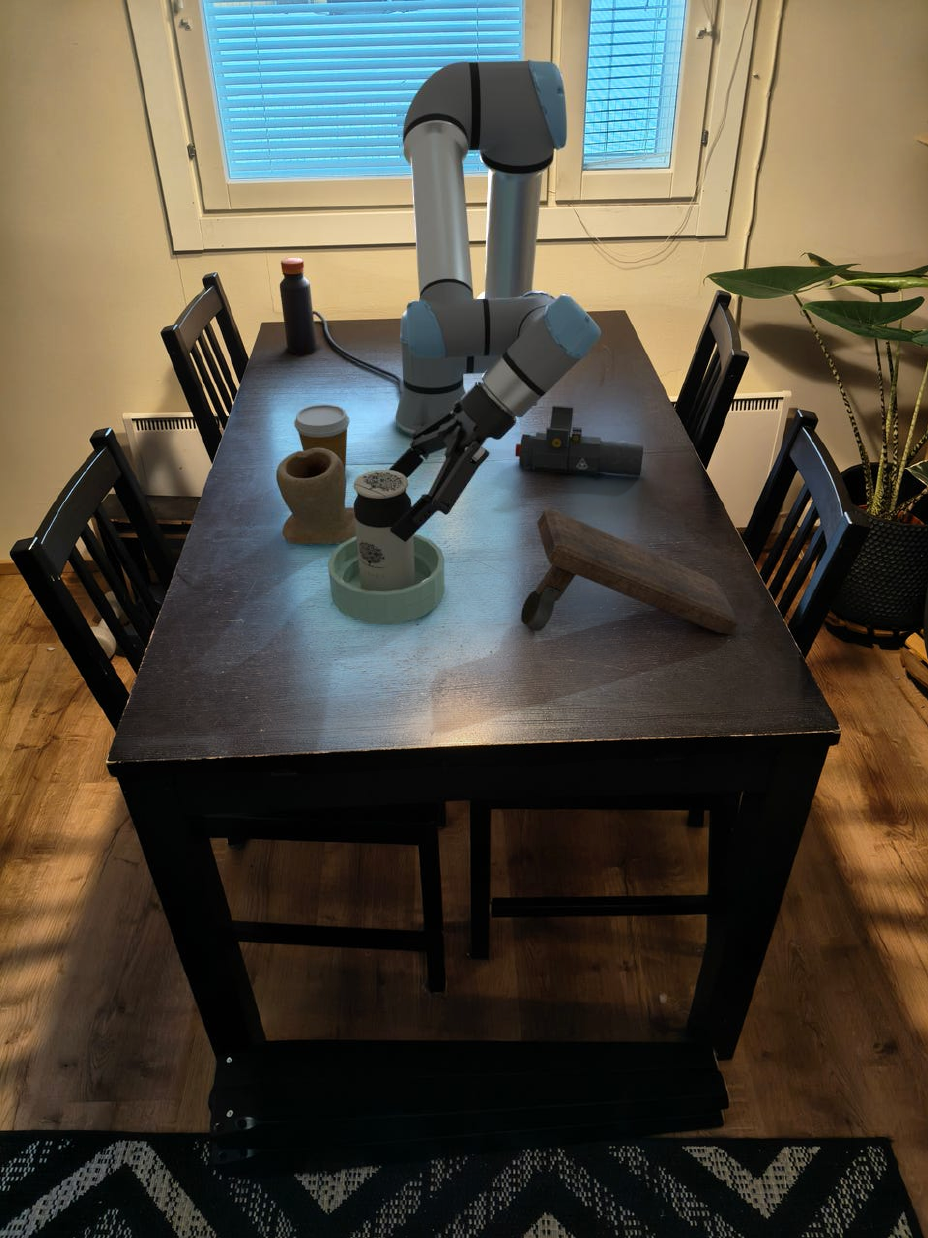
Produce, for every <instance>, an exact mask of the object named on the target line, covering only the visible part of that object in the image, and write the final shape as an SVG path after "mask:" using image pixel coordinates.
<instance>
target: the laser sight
mask: <svg viewBox="0 0 928 1238" xmlns="http://www.w3.org/2000/svg"><path fill="white" fill-rule="evenodd" d="M551 408H552V409H551V418H550V425H549V427H546V431H545V432H536V433H535V434H536V435H532V434H527V433H526V434H525V433H522V435H521V439H520V443H516V445H515V453H514V455H515V457H519V459H518V463H519V467H521V468H532V470H533V471H538V472H549V473H550V472H551V473H560V474H561V473H562V474H574V475H586V476H598V473H601V474H602V473H604V474H614V475H615V474H616V475H626V476H627V475H628V476H638V477H641V473H642V465H643V458H644V457H643V456H644V447H645V446H644V445H645V444H644V443H633V442H621V441H620V442H619V441H610V440H609V441H607V440H602V439H601V437H597V436H586V435H583V427H576V426H573V418H574V417H573V416H574V406H565V405H552V406H551Z"/></svg>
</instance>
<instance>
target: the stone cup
mask: <svg viewBox="0 0 928 1238" xmlns="http://www.w3.org/2000/svg"><path fill="white" fill-rule="evenodd" d="M275 478H276V483H277V487H278V490H279V493H280V496H281V497H282V499H283V502H284V503H285V505H286V506H287V508H288V509H289V511H290V513H291V514H290V515H288V517H287V519H286V520H285V522H284V524H283V526H282V536H283V537H284V539H285V541H286V542H288V543H290V544H292V545H293V544H294V545H304V546H305V545H306V546H307V545H308V546H310V545H312V546H313V545H335V544H342V543H344V542H346V541H347V540H349V539H351V538H353V537H356V526H355V515H354V506H353V507H352V506H350V507H349V506H348V507H347V506H346V498H347V497H346V495H347V474H346V470H345V469H344V466H343V463H342V461H341V460H340V458H339V457H338V456H337V455H336V454H335V453H334V452H332V451H330V450H327V449H324V448H312V449H309V450H305V451H303V450H298V451H295V452H292V453H290V454H288V455H287V456H286V457H285V458H283V459H282V461H280V463H279V464H278V466H277V468H276V472H275Z"/></svg>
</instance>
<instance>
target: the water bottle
mask: <svg viewBox="0 0 928 1238" xmlns="http://www.w3.org/2000/svg"><path fill="white" fill-rule="evenodd" d="M280 266H281V272H282V275H283V279H282V280H281V281H280V283H279V292H280V293H279V294H280V299H281V308H282V318H283V323H284V332H285V338H286V340H285V341H286V347H287V351H288V352H289V353H291V354H295V355H305V354H310V353H313V352H314V351H315V350H316V349H317V347H318V346H317V338H316V327H315V320H314V319H315V318H314V315H313V311H314V309H313V300H312V299H313V298H312V291H311V282H310V281H309V280H308V279H307V278H306V277H305V276H304V274H305V263H304V260H303V259H302V258H299V257H288V258H284V259H282V260H281V261H280Z"/></svg>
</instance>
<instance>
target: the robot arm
mask: <svg viewBox="0 0 928 1238" xmlns="http://www.w3.org/2000/svg"><path fill="white" fill-rule="evenodd" d="M566 103H567V102H566V93H565V86H564V79H563V75H562V72H561V69H560V67H559V66H558V65H557V64H556V63H554V62H553V61H538V60H537V61H536V60H532V59H531V58H529V59H527V60H511V61H510V60H509V61H508V60H506V61H503V60H502V61H458V62H453V63H449V64H447V65H445V66H443V67H442V68H440V69H438V70H437V71H434V73H433V74H432V75H431V76H430V77H428V78H427V79H426V80H425V81H424V82H423V84H421V86H420V87H419V89H417V91H416V93H415V95H414V97H413V98H412V100H411V102H410V104H409V107H408V109H407V112H406V114H405V118H404V123H403V128H402V151H403V155H404V158H405V160H406V162H407V163H408V164H409V165H410V168H411V183H412V184H411V185H412V197H413V198H412V200H413V201H412V202H413V215H414V216H413V217H414V232H415V233H414V234H415V249H416V251H415V252H416V266H417V281H418V282H417V283H418V299H417V300H411V301H409V302H408V303H407V304H406V310H405V311H404V312H403V314H402V316H401V318H400V335H399V341H400V343H401V357H402V358H401V364H402V365H401V366H402V378H401V377H400V376H399V375H397V374H395V373H393V372H391V371H388V370H386V369H383V368H380V367H379V366H377V365H374V364H372V363H370V362H368V361H365V360H363V359H361V358H359V357H357V356H355V355H353V354H351V353H349V352H348V351H346V350H344V348H342V347H341V346H339V345H338V344H337V343H336V341H334V340H333V337H331V334H330V332H329V328H328V322H327V320H325V318H324V317H323V316H322V314H320V313H319V312H318V311H316V310H313V316H316V317H317V318H318V319H319V320H320V321H321V322H322V324H323V326H324V327H323V330H324V333H325V336H326V338H327V339H328V341H329V343H330V344H331V345H332V346H333V347H334V348H335V349H336V350H337V351H338V352H340V353H341V354H343V355H344V356H346V357H347V358H349V359H351V360H353V361H355V362H357V363H359V364H361V365H363V366H366V367H367V368H370V369H372V370H374V371H377V372H379V373H381V374H384V375H386V376H388V377H391V378H393V379H394V380H396V381H397V382H398V383H399V392H400V398H399V400H398V405H397V409H396V412H395V426H396V428H397V430H398V431H399V432H400V433H402V434H403V435H404V436H407V437H409V438H411V439H412V441H411V442H410V443H409V448H408V449H406V451H405V452H403V454H402V455H401V456H400V457H399V458H398V459H397V460H396V461H395V462H394V463H393V465H391V467H389V468H388V470H392V471H396V472H399V473H401V474H403V475H404V476H406V478H407V479H408V478H409V477H411V475H412V474H413V473H414V472H415V471H416V470H417V469H418V468H419V467H420V466H421V465H422V464H423V463H424V462H425V460H428V458H429V457H430V455H431V454H433V453H436V452H439V451H441V450H444V449H445V452H444V457H445V458H444V461H443V463H442V465H441V467H440V469H439V471H438V473H437V475H436V478H435V479H434V481H433V483H432V485H431V487H430V489H429V491H428V493H421V496H420V497H419V498H418V499H417V500H416V502H414V503H413V504H412V505H411V506H412V507H411V508H410V509H409V510H408V511H407V512H406V513H405V514H404V515H403V516H402V517H401V518H400V519H399V520H398V521H397V522H396V523H395V524H394V525H393V526H392V527H391V528H390V531H391V532H392V533H393V534H395V535H396V536H397V537H399V538H400V539H402V540H403V541H404V542H406V541H407V540H408V539H409V538H410V537H411V536H412V535H413V534H416V533H417V532H418V531H419V530H420V529H421V528H422V527H423V526H424V524H426V523H427V522H428V521H429V520H430V519H431V518H432V517H433V516H434V515H435V514H436V513H437V512H440V513H441V514H442V513H443V515H444V516H447V515H449V514H450V512H451V511H452V509H453V508H454V506H455V505H456V503H457V501H458V500H459V499H460V497H461V496H462V494H463V492H464V491H465V489H466V488H467V486H468V485H469V483H470V481H471V480H472V478H473V477H474V475H475V473H476V472H477V471H478V469H479V467H480V466H482V465H483V463H484V462H485V461H486V460H487V459H488V458H489V456H490V452H489V450H487V449H486V448H484V446H483V445H484V444H485V442H486V441H487V440H488V439H489V438H491V439H493V440H496V441H499V440H501V439H502V438H504V436H506V434H507V433H509V432H510V430H511V429H512V428H513V427H514V426H515V425H516V424H517V418H522V417H524V415H526V414H527V413H528V412H529V411H530V410H531V408H532V407H536V406H538V404H539V400H541V398H542V397H544V396H545V395H546V394H547V393H548V392H549V391H550V390H551V389H552V388H553V387H554V386H555V385H556V384H557V383H558V382H559V381H560V380H561V379H563V377H564V376H565V375H566V374H567V373H569V371H570V370H571V369H573V367H574V366H576V364H577V363H578V362H579V361H581V359H583V358H585V357H586V356H587V354H588V353H589V351H590V350H591V349H592V348H593V347H594V345H595V344H596V343H598V341H599V340H600V338H601V335H602V331H601V328H600V327H599V325H598V324H597V323H596V321H594V319H593V318H592V317H591V316H590V315H589V314H588V312H587V311H586V310H584V308H583V307H581V305H580V304H579V302H577V301H576V300H575V299H574V298H573V297H572V296H571V295H570V294H568V293H563V294H562V293H561V294H560V295H558V296H557V298H555V297H554V295H551V294H550V293H548V292H545V291H543V290H533V286H534V274H535V263H536V253H537V241H538V240H537V239H538V227H539V217H540V205H541V193H542V181H543V173H544V172H545V171H546V170H547V169H549V168H550V167H551V165H552V164H553V161H554V155H555V150H556V151H560V150H561V149H563V148H565V147H566V145H567V139H568V118H567V117H568V115H567V104H566ZM469 151H479V159H480V161H481V163H482V164H483V165H484V166H485V168H487V169H488V189H487V213H486V214H487V215H486V216H487V217H486V241H485V265H484V266H485V269H484V290H483V291H484V292H482V293H481V294H480V295H479V296H478V297H477V298H475V297H474V290H473V289H474V287H473V286H474V285H473V273H472V272H473V271H472V261H471V249H470V248H471V247H470V237H469V236H470V235H469V223H468V211H467V199H466V187H465V186H466V185H465V173H464V161H465V159H466V158H467V156H468V152H469ZM470 374H473V375H474V374H481V381H478V382H477V381H476V382H475V383H474V384H473V385H472V386H471V387H470V388H469V389H468V390H467V391H466V389H465V387H464V386H465V385H464V375H470ZM424 459H425V460H424Z"/></svg>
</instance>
